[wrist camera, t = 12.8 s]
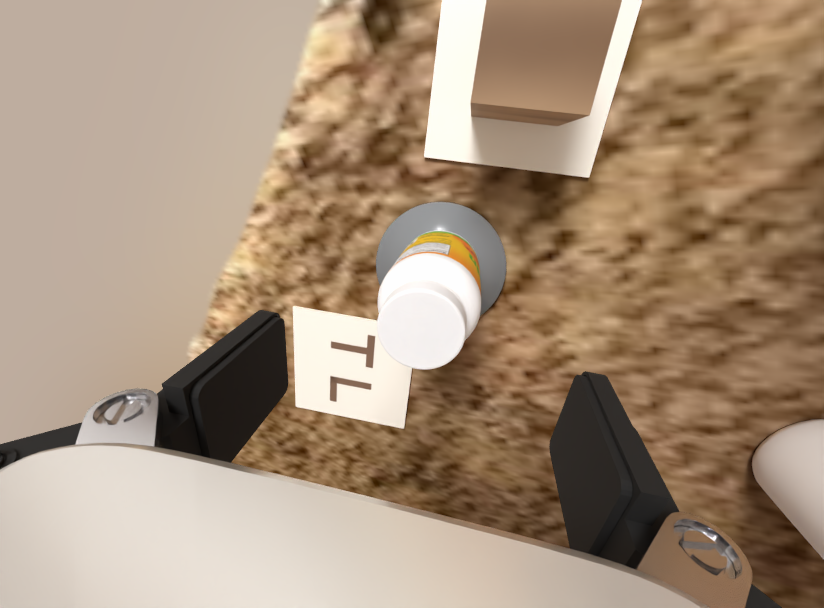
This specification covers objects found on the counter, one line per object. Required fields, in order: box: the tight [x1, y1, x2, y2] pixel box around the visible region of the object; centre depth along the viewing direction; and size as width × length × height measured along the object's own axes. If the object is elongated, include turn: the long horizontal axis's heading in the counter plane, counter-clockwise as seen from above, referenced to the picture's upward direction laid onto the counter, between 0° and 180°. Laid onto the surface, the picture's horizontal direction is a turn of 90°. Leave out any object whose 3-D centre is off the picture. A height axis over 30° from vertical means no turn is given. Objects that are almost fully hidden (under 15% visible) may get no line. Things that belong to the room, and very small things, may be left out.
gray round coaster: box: [376, 202, 506, 316], centre depth 24 cm, size 9×9×1 cm
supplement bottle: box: [377, 230, 481, 370], centre depth 20 cm, size 5×5×10 cm
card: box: [293, 306, 412, 429], centre depth 29 cm, size 10×10×1 cm
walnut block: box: [470, 0, 622, 126], centre depth 17 cm, size 5×5×6 cm
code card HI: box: [424, 0, 642, 178], centre depth 19 cm, size 10×10×1 cm
